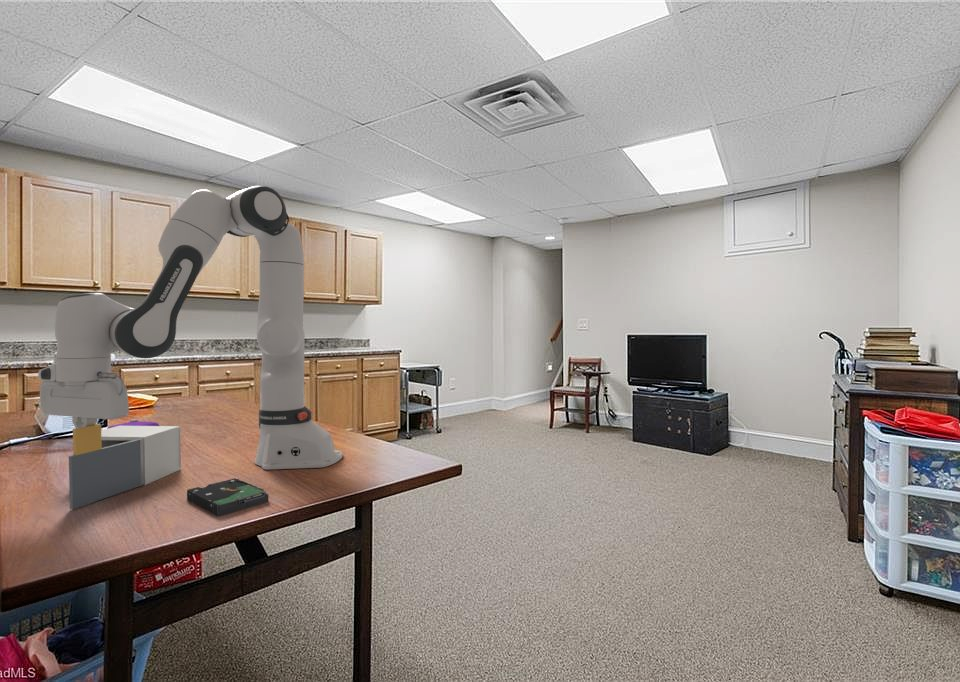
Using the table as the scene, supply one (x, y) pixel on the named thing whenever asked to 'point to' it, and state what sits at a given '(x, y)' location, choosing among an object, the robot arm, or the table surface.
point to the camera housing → (150, 447)
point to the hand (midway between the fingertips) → (85, 438)
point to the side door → (102, 467)
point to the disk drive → (227, 496)
